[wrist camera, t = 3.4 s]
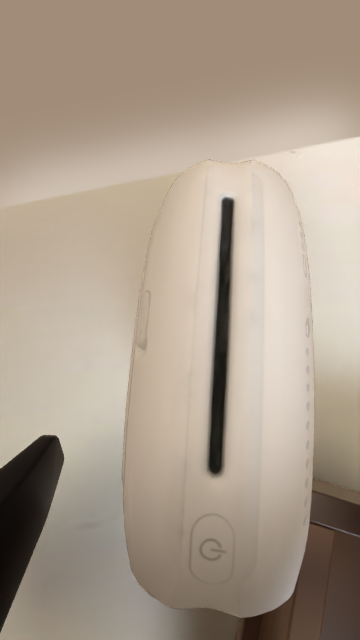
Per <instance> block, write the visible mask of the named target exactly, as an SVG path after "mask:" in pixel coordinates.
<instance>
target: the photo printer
mask: <svg viewBox="0 0 360 640" xmlns="http://www.w3.org/2000/svg"><path fill="white" fill-rule="evenodd" d="M314 411H315V406H314V345H313V320H312V304H311V289H310V276H309V266H308V258H307V250H306V242H305V235H304V230H303V225H302V221H301V217H300V213H299V210H298V207H297V205H296V202H295V199H294V197H293V194H292V192H291V190H290V188H289V186H288V184H287V182H286V181H285V180H284V179H283V178H282V176H281V175H280V174H279V173H278V172H276V171H275V170H273V169H272V168H270V167H269V166H267V165H265V164H263V163H261V162H258V161H255V160H250V161H245V162H241V163H229V164H228V163H221V162H216V161H213V160H210V159H209V160H205V161H202V162H200V163H197V164H195V165H194V166H192V167H190V168H189V169H187V170H186V171H185V172H183V173H182V174H181V175H180V176H179V177H178V178H177V179H176V180H175V181H174V183H173V184H172V186H171V188H170V190H169V192H168V194H167V196H166V198H165V200H164V202H163V204H162V207H161V209H160V212H159V214H158V216H157V218H156V220H155V223H154V226H153V230H152V233H151V238H150V243H149V247H148V252H147V257H146V261H145V267H144V273H143V278H142V283H141V290H140V296H139V303H138V309H137V315H136V322H135V331H134V339H133V347H132V355H131V363H130V372H129V382H128V391H127V401H126V416H125V427H124V443H123V460H122V481H123V509H124V525H125V535H126V543H127V550H128V555H129V560H130V566H131V570H132V572H133V574H134V576H135V578H136V580H137V582H138V583H139V585H140V586H141V587H142V588H143V589H144V590H145V591H146V592H147V593H148V594H149V595H151V596H152V597H154V598H155V599H157V600H158V601H160V602H161V603H163V604H164V605H166V606H168V607H170V608H175V609H189V608H209V609H215V610H218V611H221V612H225V613H227V614H230V615H233V616H235V617H239V618H245V617H253V616H257V615H260V614H263V613H266V612H269V611H272V610H274V609H276V608H277V607H279V606H280V605H282V604H283V603H284V602H286V601H287V600H288V599H289V598H290V596H291V595H292V593H293V591H294V588H295V585H296V581H297V578H298V575H299V571H300V567H301V564H302V560H303V556H304V552H305V548H306V542H307V537H308V529H309V521H310V507H311V495H312V478H313V453H314Z"/></svg>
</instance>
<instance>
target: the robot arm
mask: <svg viewBox="0 0 360 640" xmlns="http://www.w3.org/2000/svg"><path fill="white" fill-rule="evenodd" d="M63 463H64V454H63V451H62V448H61V444H60V441H59V438H58V437H57V436H55V435H43V436H41V437H39V438H38V439H37V440H36V441H34V442H33V443H32V444H31V445H29V446H28V447H27V448H26V449H24V450H23V451H22V452H21V453H19V454H18V455H17V456H16V457H15V458H13V459H12V460H11V461H10V462H8V463H7V464H6V465H5V466H3V467H2V468H1V469H0V632H1V630H2V627H3V625H4V622H5V620H6V617H7V615H8V613H9V610H10V608H11V605H12V603H13V600H14V598H15V595H16V593H17V591H18V588H19V586H20V583H21V581H22V578H23V576H24V573H25V571H26V569H27V566H28V564H29V561H30V559H31V556H32V554H33V551H34V549H35V547H36V544H37V542H38V539H39V537H40V534H41V532H42V529H43V527H44V524H45V522H46V519H47V516H48V513H49V510H50V507H51V503H52V500H53V497H54V493H55V490H56V486H57V483H58V480H59V476H60V473H61V470H62V466H63Z"/></svg>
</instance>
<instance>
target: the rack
mask: <svg viewBox="0 0 360 640" xmlns="http://www.w3.org/2000/svg"><path fill="white" fill-rule="evenodd" d="M236 640H360V492H356V491H353V490H350V489H347V488H343V487H340V486H337V485H333V484H330V483H327V482H324V481H320V480H317V479H314V478H312V495H311V507H310V521H309V529H308V537H307V542H306V548H305V552H304V556H303V560H302V564H301V567H300V571H299V575H298V578H297V581H296V585H295V588H294V591H293V593H292V595H291V596H290V598H289V599H288V600H287V601H286V602H284V603H283V604H282V605H280V606H279V607H277V608H276V609H274V610H272V611H269V612H266V613H263V614H260V615H257V616H253V617H245V618H240V620H239V625H238V630H237V635H236Z"/></svg>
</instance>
